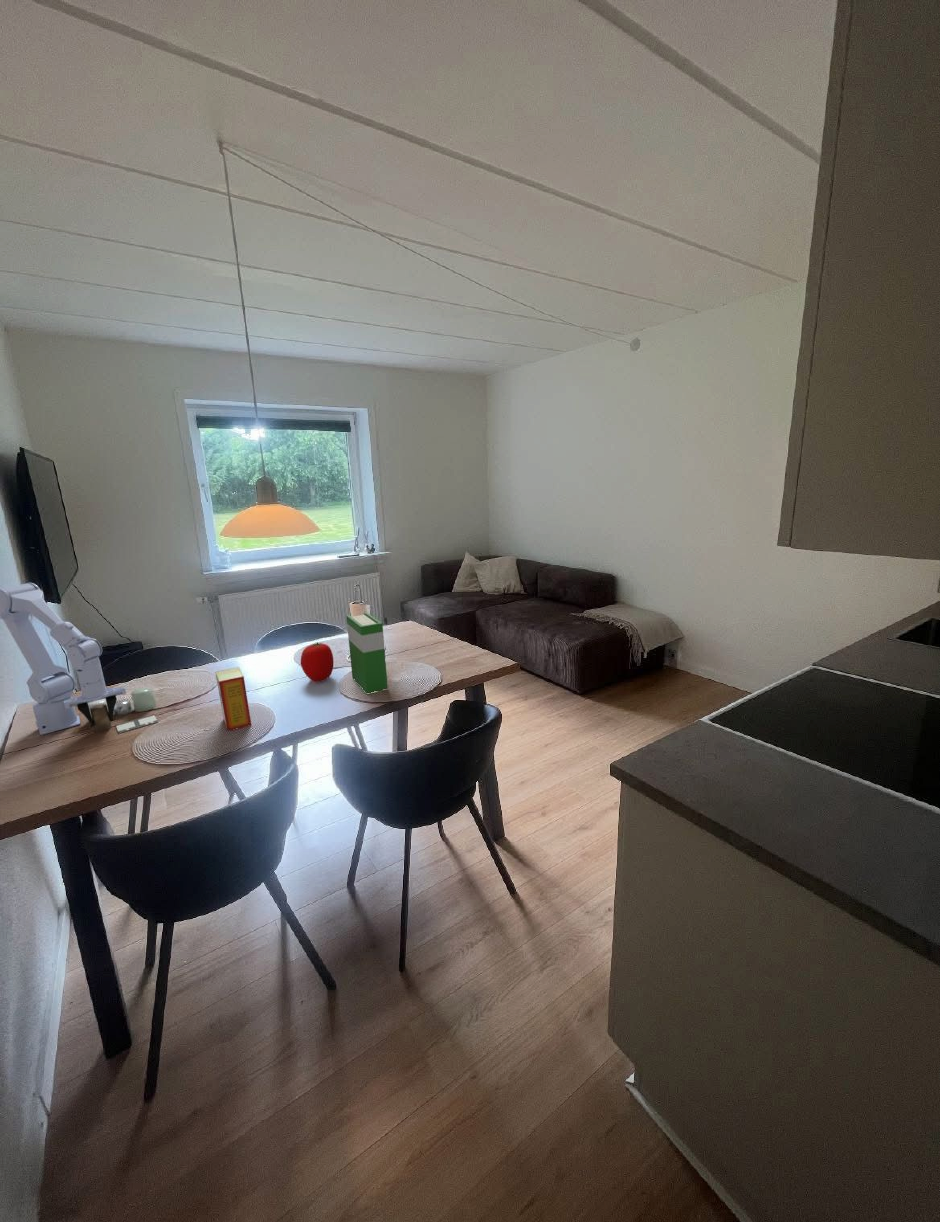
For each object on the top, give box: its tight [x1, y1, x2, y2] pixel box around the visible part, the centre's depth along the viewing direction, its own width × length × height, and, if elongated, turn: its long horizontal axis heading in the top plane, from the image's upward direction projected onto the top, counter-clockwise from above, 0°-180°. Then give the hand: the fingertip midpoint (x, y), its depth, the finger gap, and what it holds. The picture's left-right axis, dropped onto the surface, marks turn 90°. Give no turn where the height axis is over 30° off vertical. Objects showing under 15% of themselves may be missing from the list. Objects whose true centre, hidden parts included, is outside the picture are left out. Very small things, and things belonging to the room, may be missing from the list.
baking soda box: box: [214, 666, 252, 732], centre depth 146 cm, size 10×6×16 cm
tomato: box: [300, 642, 334, 683], centre depth 178 cm, size 13×11×14 cm
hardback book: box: [345, 611, 389, 694], centre depth 171 cm, size 18×7×24 cm, turn 29°
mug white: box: [88, 699, 108, 725], centre depth 153 cm, size 6×8×6 cm
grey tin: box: [113, 699, 133, 717], centre depth 157 cm, size 5×5×4 cm
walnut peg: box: [90, 704, 113, 733], centre depth 146 cm, size 4×4×7 cm
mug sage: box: [130, 686, 157, 713], centre depth 160 cm, size 6×8×6 cm
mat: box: [115, 714, 159, 734], centre depth 149 cm, size 10×7×1 cm
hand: (102, 722), depth 146 cm, fingers closed on walnut peg, 4 cm apart
